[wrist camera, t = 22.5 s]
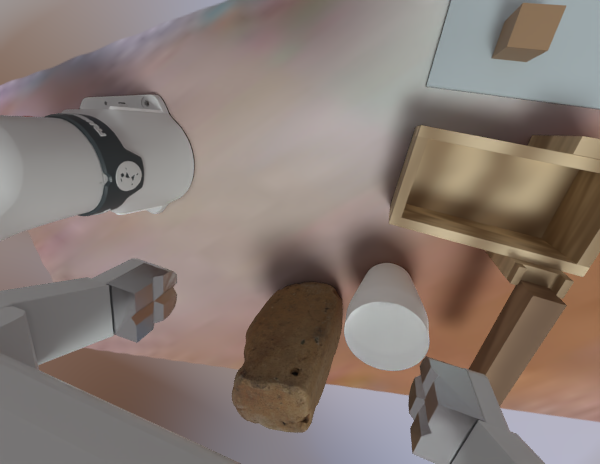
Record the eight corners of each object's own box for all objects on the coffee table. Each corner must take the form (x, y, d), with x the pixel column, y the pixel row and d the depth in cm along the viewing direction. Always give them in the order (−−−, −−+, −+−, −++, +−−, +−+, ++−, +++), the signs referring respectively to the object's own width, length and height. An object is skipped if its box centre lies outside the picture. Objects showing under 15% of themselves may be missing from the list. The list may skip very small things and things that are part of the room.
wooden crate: (385, 218, 38) (382, 246, 29) (419, 114, 33) (428, 107, 24) (535, 259, 34) (586, 305, 25) (599, 147, 29) (691, 154, 20)
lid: (425, 87, 33) (431, 78, 28) (455, -17, 29) (468, -48, 24) (612, 111, 29) (658, 107, 24) (673, -5, 25) (744, -40, 20)
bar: (456, 390, 33) (462, 413, 30) (519, 279, 27) (533, 295, 24) (480, 399, 32) (488, 423, 29) (549, 287, 26) (566, 305, 24)
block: (346, 283, 43) (311, 392, 25) (345, 325, 46) (312, 451, 28) (279, 275, 46) (206, 366, 28) (281, 314, 49) (215, 421, 31)
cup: (429, 262, 38) (442, 313, 28) (412, 317, 42) (418, 382, 31) (361, 248, 41) (349, 290, 30) (351, 301, 44) (336, 357, 33)
